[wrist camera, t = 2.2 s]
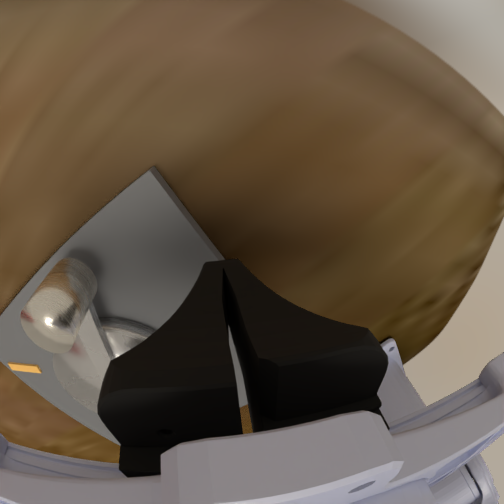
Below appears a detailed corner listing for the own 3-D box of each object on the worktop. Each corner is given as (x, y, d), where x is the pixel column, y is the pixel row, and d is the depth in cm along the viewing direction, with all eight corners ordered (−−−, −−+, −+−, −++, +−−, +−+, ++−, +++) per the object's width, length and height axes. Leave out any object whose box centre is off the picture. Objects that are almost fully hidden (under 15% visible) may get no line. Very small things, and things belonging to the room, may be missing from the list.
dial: (202, 408, 18) (207, 464, 14) (90, 408, 17) (80, 459, 13) (164, 235, 13) (149, 296, 8) (11, 255, 11) (-35, 304, 7)
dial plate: (305, 360, 20) (311, 374, 18) (125, 437, 22) (124, 449, 20) (154, 165, 12) (148, 171, 11) (-13, 332, 14) (-20, 343, 13)
